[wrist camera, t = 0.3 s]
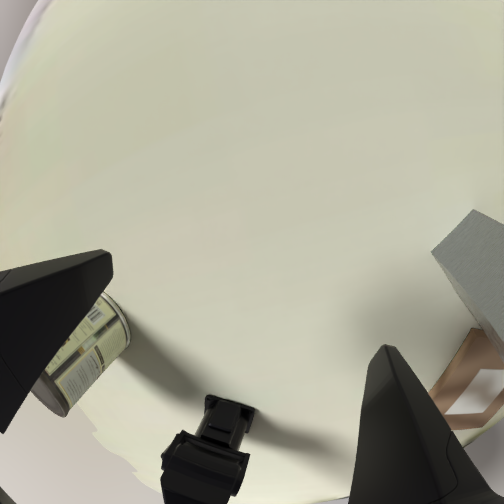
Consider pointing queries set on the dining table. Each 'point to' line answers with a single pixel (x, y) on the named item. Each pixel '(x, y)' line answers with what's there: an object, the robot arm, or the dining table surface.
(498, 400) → the walnut board
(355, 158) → the dining table surface
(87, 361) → the coffee can
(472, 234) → the gray block
